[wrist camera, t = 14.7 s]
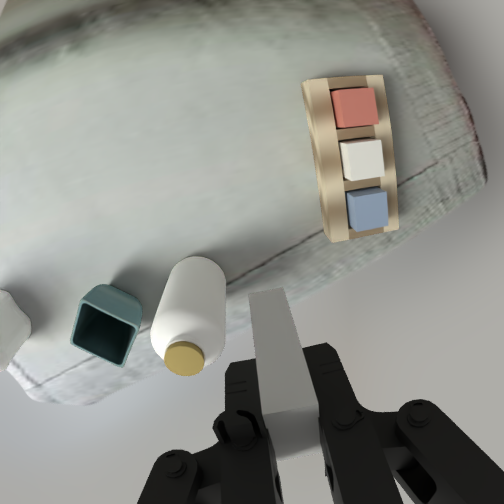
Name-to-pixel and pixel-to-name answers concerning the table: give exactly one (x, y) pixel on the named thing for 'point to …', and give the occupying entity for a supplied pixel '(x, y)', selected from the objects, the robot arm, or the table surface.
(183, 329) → the potion bottle
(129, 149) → the table surface
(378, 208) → the blue short block
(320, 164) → the wooden block holder
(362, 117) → the red key
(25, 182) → the table surface
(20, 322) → the jar
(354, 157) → the white key
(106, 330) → the flower pot
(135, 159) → the table surface
